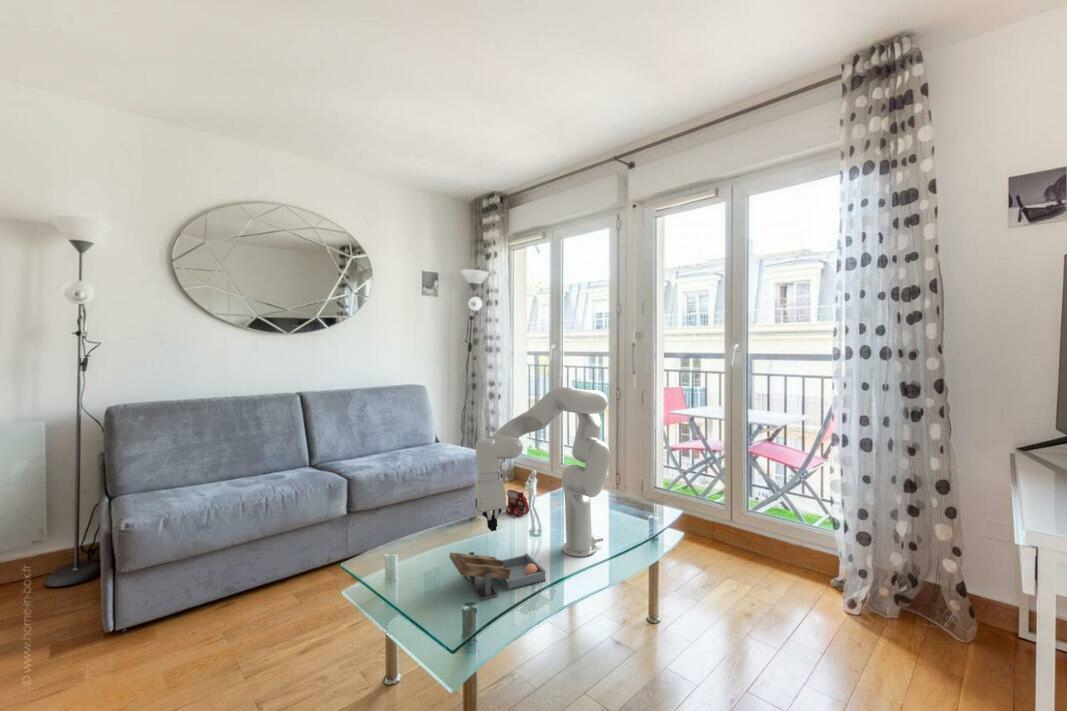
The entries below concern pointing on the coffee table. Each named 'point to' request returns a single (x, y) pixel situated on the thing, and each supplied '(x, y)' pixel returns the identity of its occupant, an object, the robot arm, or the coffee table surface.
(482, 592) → the lever stand
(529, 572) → the ball
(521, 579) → the tray
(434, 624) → the coffee table surface
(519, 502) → the red toy vehicle
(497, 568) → the lever
